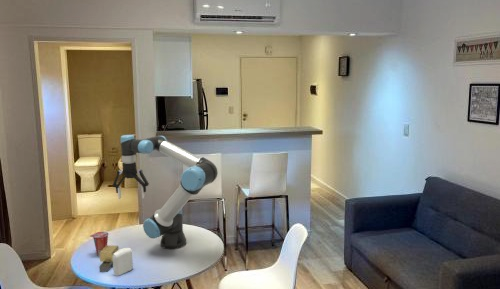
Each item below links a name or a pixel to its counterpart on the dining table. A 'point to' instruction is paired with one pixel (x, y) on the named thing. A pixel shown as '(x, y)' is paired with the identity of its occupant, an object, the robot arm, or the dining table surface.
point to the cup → (100, 241)
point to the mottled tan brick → (108, 253)
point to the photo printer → (122, 261)
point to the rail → (105, 266)
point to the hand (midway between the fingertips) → (131, 198)
